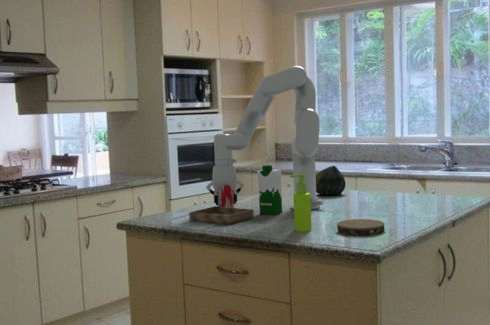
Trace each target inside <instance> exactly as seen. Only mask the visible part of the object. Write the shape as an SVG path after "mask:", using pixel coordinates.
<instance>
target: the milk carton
mask: <svg viewBox="0 0 490 325" xmlns="http://www.w3.org/2000/svg"><path fill="white" fill-rule="evenodd" d="M261 168H262V169H260V170H257V171H256V174H257V180H258V181H257V182H258V201H259V202H258V204H259V215H266V216H267V215H269V216H276V215H279V214H280V213H283V202H282V201H283V200H282V198H283V197H282V169H280V168H279V169H278V168H275V169H273V165H272V164H271V165H270V164H267V165H265V164H264V165H262V166H261Z"/></svg>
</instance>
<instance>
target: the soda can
mask: <svg viewBox="0 0 490 325" xmlns="http://www.w3.org/2000/svg"><path fill="white" fill-rule="evenodd" d="M229 185H230V184H228V185H222V186H221V187H220V188H219V190H218V192H217V196H218V205H217V206H219V207H231V208H235V204H234V192H233V189H232V188H231V187H230V186H229Z"/></svg>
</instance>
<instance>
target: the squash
mask: <svg viewBox="0 0 490 325" xmlns="http://www.w3.org/2000/svg"><path fill="white" fill-rule="evenodd" d="M315 175H316V194H318V195H319V196H325V195H332V196H339V195H341V194H343V192H344V191H345V189H346V180H345V178H344V175H343V174H342V172H341V171H340V170H339V169H338V167H337V166H336V165H331V166H328V167H326V168H324V169H322V170H320V171H319V172H318V173H317V174H315Z"/></svg>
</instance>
